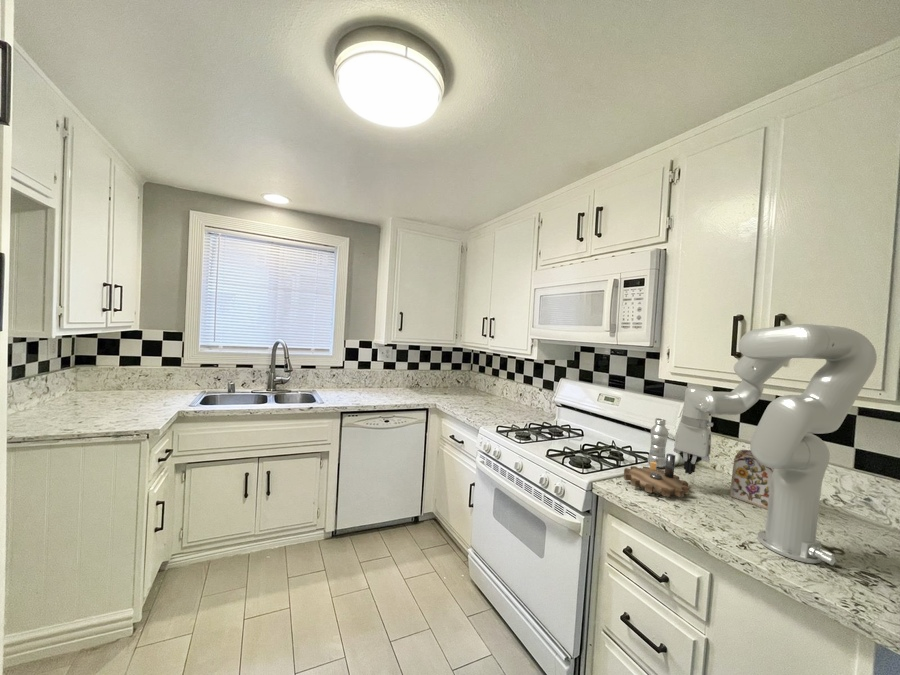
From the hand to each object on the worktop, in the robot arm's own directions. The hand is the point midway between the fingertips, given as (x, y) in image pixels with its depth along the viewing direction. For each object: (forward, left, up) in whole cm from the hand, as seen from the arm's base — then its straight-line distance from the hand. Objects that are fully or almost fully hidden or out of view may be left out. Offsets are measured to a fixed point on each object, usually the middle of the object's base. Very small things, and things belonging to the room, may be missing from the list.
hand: (688, 472), depth 126 cm
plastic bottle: (+21, -10, -7) cm, 25 cm away
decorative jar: (-10, -20, -7) cm, 23 cm away
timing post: (+14, 0, -7) cm, 16 cm away
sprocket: (+5, +9, -6) cm, 12 cm away
